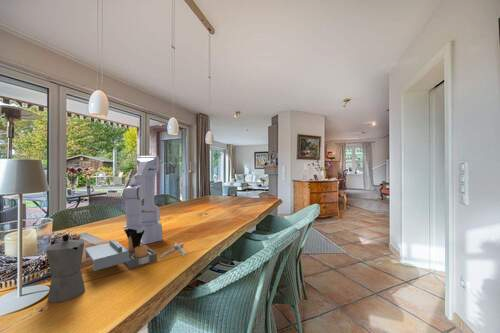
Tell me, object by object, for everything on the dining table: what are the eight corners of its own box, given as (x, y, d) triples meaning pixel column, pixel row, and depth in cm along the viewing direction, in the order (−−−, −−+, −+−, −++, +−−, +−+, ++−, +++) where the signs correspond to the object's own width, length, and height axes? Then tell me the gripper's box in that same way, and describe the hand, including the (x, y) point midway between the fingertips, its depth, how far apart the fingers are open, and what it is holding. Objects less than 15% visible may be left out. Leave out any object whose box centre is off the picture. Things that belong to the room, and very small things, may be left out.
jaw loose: (138, 247, 98) (137, 234, 98) (141, 249, 95) (141, 236, 95) (127, 249, 95) (126, 237, 95) (130, 252, 92) (129, 239, 92)
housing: (144, 251, 101) (143, 244, 101) (157, 260, 90) (157, 253, 90) (119, 258, 94) (119, 250, 94) (130, 269, 83) (130, 261, 83)
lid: (117, 250, 94) (116, 237, 94) (128, 261, 82) (128, 246, 82) (85, 258, 86) (85, 244, 86) (93, 271, 75) (93, 255, 75)
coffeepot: (96, 291, 68) (94, 233, 68) (58, 309, 60) (56, 242, 60) (71, 280, 76) (69, 227, 76) (34, 294, 67) (32, 235, 67)
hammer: (159, 255, 92) (168, 243, 107) (159, 259, 92) (168, 246, 107) (184, 253, 94) (189, 241, 109) (184, 257, 94) (189, 245, 109)
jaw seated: (145, 257, 92) (144, 244, 92) (149, 260, 89) (148, 246, 89) (133, 260, 89) (133, 247, 89) (137, 264, 86) (137, 250, 86)
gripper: (118, 213, 97) (119, 244, 97) (128, 218, 87) (129, 253, 87) (135, 211, 102) (136, 240, 102) (147, 215, 92) (148, 248, 92)
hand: (134, 246), depth 95 cm, fingers closed on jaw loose, 4 cm apart
